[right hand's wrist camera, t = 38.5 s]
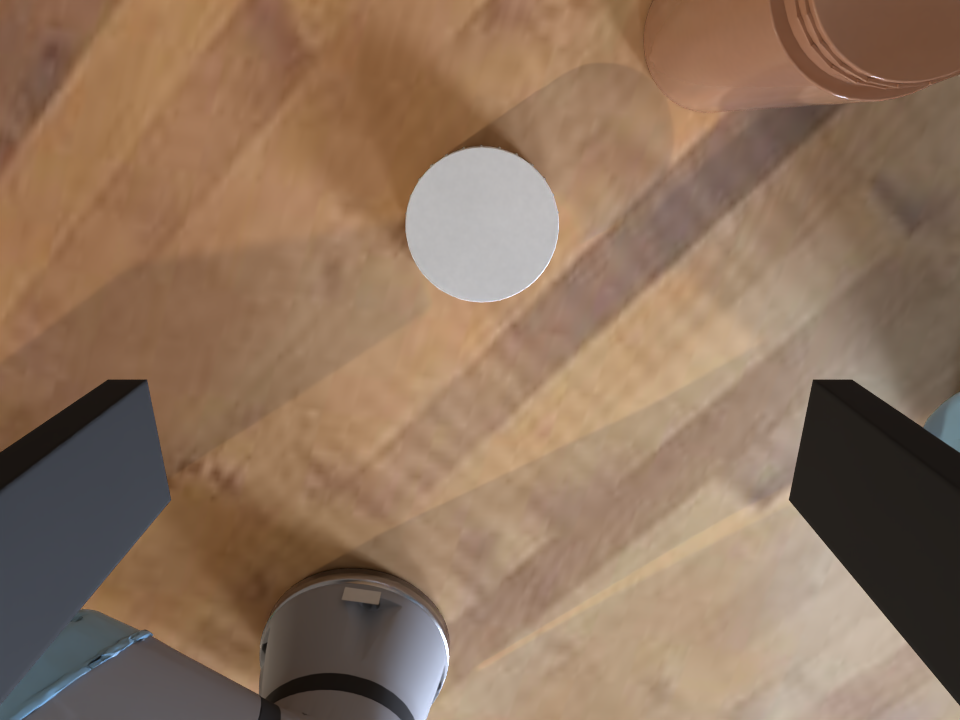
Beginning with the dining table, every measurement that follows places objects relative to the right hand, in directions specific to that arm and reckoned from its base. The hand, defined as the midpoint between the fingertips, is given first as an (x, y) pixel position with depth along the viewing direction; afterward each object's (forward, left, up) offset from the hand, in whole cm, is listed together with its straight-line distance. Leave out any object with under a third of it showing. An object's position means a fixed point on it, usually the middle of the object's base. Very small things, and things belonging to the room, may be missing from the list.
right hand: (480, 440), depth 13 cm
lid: (0, 0, -28) cm, 28 cm away
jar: (+3, -17, -30) cm, 35 cm away
